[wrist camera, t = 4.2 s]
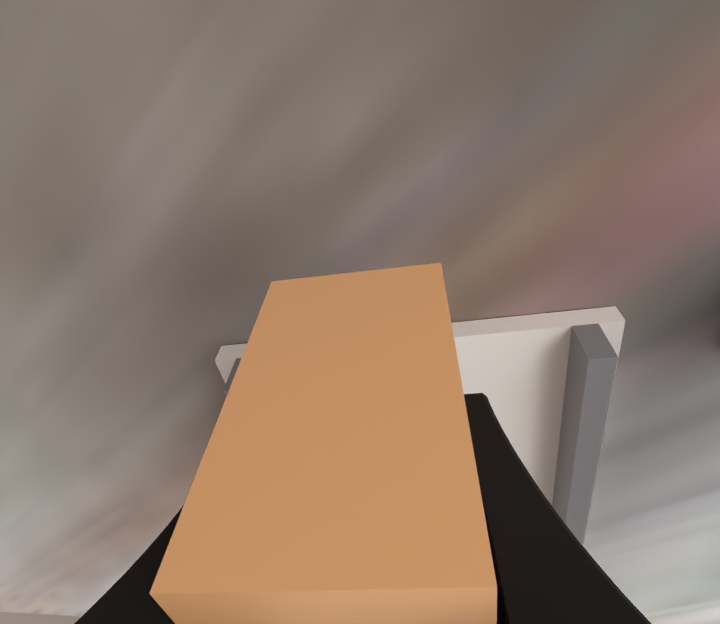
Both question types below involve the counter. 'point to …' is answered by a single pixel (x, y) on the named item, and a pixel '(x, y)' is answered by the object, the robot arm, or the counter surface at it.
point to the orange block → (338, 468)
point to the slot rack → (537, 393)
